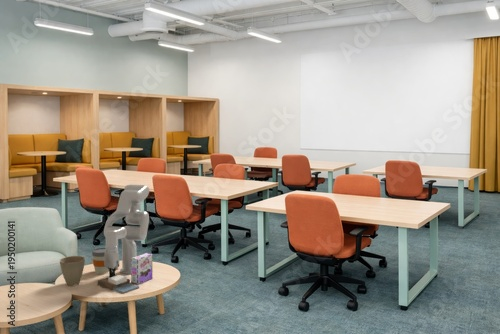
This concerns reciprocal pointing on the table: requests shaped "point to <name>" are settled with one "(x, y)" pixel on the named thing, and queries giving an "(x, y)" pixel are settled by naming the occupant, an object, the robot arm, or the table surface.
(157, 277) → the table surface
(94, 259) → the reusable coffee cup
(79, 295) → the table surface
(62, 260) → the plant pot
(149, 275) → the candy box
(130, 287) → the mat
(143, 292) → the table surface
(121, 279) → the tile
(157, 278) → the table surface
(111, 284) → the brown flat square block
